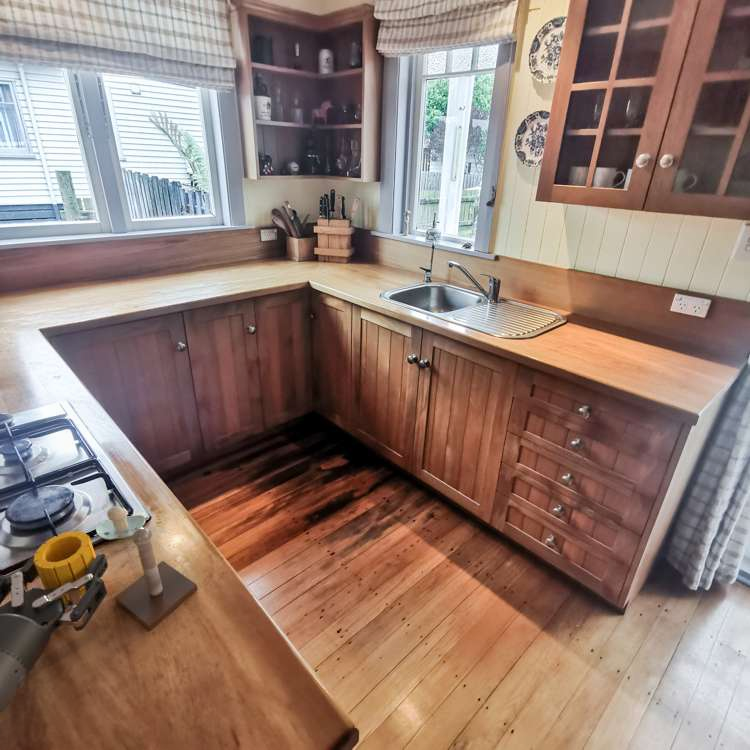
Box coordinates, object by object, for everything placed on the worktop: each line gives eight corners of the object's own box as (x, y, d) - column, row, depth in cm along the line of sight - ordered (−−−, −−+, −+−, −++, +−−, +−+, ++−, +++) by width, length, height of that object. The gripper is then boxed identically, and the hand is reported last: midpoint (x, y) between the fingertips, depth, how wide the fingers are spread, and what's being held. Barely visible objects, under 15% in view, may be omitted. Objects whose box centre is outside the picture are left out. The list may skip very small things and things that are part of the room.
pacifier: (106, 521, 81) (96, 546, 76) (98, 493, 79) (87, 517, 74) (151, 515, 83) (144, 539, 78) (144, 487, 81) (137, 510, 75)
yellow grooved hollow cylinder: (43, 598, 67) (24, 554, 63) (88, 567, 72) (73, 524, 68) (67, 621, 64) (49, 576, 60) (113, 587, 69) (99, 543, 65)
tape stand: (115, 603, 67) (94, 535, 61) (164, 565, 73) (148, 501, 67) (149, 631, 63) (130, 563, 58) (198, 589, 70) (184, 523, 64)
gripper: (43, 651, 51) (117, 538, 65) (-88, 648, 51) (15, 535, 65) (61, 691, 54) (128, 576, 69) (-62, 688, 54) (31, 573, 69)
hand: (73, 556), depth 67 cm, fingers open, 8 cm apart
